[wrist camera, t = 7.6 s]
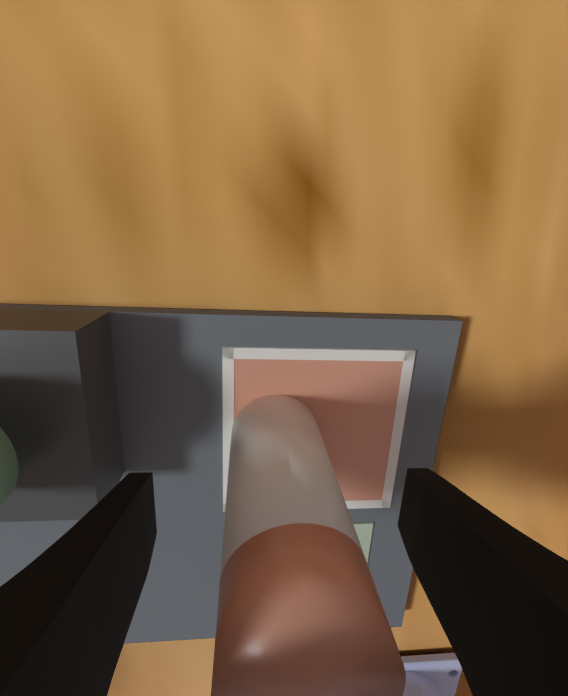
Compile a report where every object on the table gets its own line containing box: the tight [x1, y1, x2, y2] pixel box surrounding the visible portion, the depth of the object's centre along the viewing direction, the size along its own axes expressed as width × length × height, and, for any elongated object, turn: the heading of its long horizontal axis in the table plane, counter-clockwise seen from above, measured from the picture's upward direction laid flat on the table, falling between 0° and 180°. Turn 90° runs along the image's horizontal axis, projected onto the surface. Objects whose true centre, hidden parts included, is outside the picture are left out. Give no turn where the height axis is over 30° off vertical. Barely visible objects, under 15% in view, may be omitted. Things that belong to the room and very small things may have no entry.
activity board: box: [0, 304, 463, 643], centre depth 14 cm, size 15×22×1 cm
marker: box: [211, 395, 406, 696], centre depth 10 cm, size 3×3×8 cm
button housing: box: [0, 309, 125, 522], centre depth 11 cm, size 6×6×2 cm
